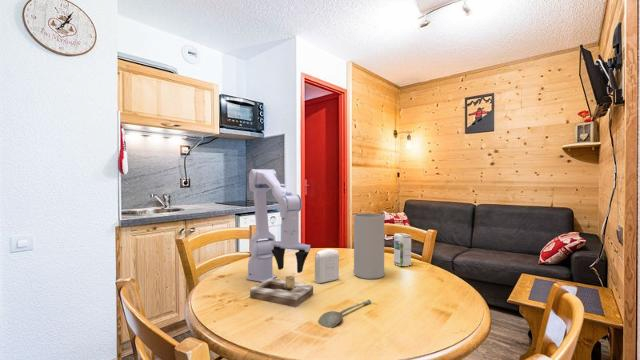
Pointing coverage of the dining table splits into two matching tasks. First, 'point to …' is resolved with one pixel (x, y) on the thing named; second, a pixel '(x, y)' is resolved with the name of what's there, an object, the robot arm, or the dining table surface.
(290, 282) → the brass key peg
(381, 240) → the cylinder vase
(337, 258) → the photo printer
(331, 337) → the dining table surface
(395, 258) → the drink can
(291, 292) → the keyhole board
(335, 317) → the soupspoon
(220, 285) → the dining table surface
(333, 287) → the dining table surface
